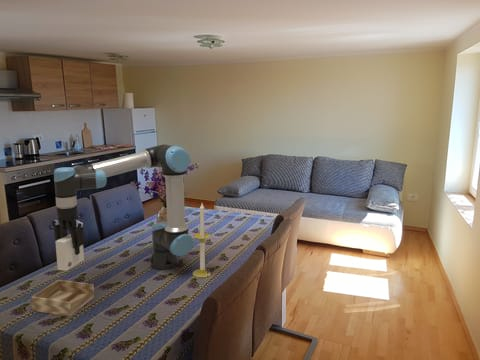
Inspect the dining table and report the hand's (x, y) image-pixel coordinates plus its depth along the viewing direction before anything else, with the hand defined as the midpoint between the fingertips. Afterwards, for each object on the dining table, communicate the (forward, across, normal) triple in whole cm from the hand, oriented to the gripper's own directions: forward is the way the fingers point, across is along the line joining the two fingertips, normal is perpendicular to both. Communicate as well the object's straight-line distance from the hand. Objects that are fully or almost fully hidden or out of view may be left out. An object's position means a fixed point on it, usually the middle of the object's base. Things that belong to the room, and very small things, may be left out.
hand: (71, 260), depth 151 cm
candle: (+20, -42, -42) cm, 63 cm away
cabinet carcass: (+20, +5, 0) cm, 21 cm away
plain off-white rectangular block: (+2, 0, 0) cm, 2 cm away
